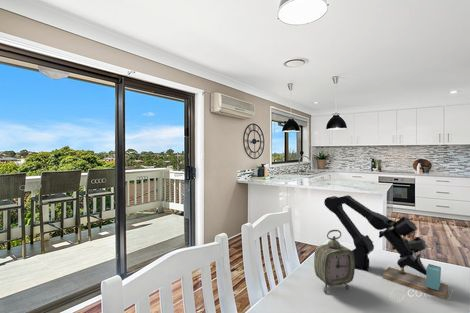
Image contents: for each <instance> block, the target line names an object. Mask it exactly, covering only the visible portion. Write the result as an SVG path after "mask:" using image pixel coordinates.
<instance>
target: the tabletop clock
mask: <svg viewBox="0 0 470 313" xmlns="http://www.w3.org/2000/svg"><path fill="white" fill-rule="evenodd" d="M333 232H338V233H339V236H337V237H336V236H335V235H333V236H332V238H331V237H329V234H330V233H333ZM341 237H342V232H341V230H339V229H332V230H329V231H328V232H327V234H326V238H327V239H328V242H327V243H326V244H321V245H317V246H316V247H315V249H314V257H313V262H314V265H313V267H314V273H315V276H316V277H317V278H318V279H319V280H321V281H322V282H323V283H324V285H325V286H324V287H325V288H323V293H325V294H327V293H328V289H327V288H328V286H329V287H335V286H337V287H338V286H342V285H345V289H346V290H350V285H349V283H351V282H352V281H353V279H354V277H355V269H356V268H355V257H354V253H353V251H352V250H351V249H349V248H348V247H345V246H344V245H342V244H340V242H339V241H338V239H340V238H341Z"/></svg>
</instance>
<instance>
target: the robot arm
mask: <svg viewBox="0 0 470 313" xmlns="http://www.w3.org/2000/svg"><path fill="white" fill-rule="evenodd" d="M323 205H324V206H325V208H326V209H328V210H329V211H330V212H331V213H333V214H334V215H335V216H336V217H337V218H338V220H339V221H340V223H341V224H342V226H343V228H345V230H346V231H347V233H348V235H349V236H351V238H352V240H353V244H354V247H355V248H354V249H352V250H351V251H353V253H354V257H355V269H357V270H362V271H366V272H367V271H369V268H370V257H369V254H370V253H372V252H373V251H374V249H375V245H374V241H373V240H371V237H370V236H369V235H367V234H366V235H364V234H363V233H361V231H360V230H359V229H358V227H357V226H356V224H354V222H353V220H352V219H351V218H350V217H349V215H348V214H347V213H346V211H345V210H344V207H343V205H346V206H348V207H349V208H351V210H353V211H354V212H356V213H358V214H359V215H361V216H362V217H363V218H365V219H366V220H367V221H368V223H369V224H370V225H371V226H372V228H374V229H375V230H377V231H379V234H378V239H381V238H382V237H384V238H385V239H386V241H388V242H389V244H390V245H391V246H392V250H393V251H396V252H397V253H398V255H399V259H398V260H397V263H396V264H397V265H398V267H399V268H400V269H401V268H403V267H404V268H405V267H409V268H411V269H413V270H415V271H417V272H419V273H421V274H422V275H424V276H426V272H427V268H426V267H425V266H424V264H423V262H422V261H421V256H422V254H421V253H419V254H417V253H418V252H422V251H424V250H426V248H427V245H426V241H425V240H424V239H423V238H422V237H420V236H415V237H414V239H413V240H411V241H410V240H408V239H407V238H404V237H407V236H408V235H410V234H413V233H414V232H415V231H417V230H418V227H417V226H416V224H415V223H414V221H412V220H410V219H409V218H407V217H406V216H402V217H400V218H399V220H397V221H395V220H392V219H389V217H388V216H385V215H383V214H382V213H379V212H376V211H373V210H371V209H370V208H368V207H367V206H365V205H363V204H362V203H361V202H359V201H358V200H356V199H354V198H353V197H352V196H351V195H349V194H348V195H344V196H336V195H334V196H328V197H326V198H325V199H324V203H323ZM392 227H393V228H392Z"/></svg>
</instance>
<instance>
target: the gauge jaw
mask: <svg viewBox="0 0 470 313" xmlns="http://www.w3.org/2000/svg"><path fill="white" fill-rule="evenodd" d="M426 271H427V272H426V275H425V276H426V277H425V278H426V287H429V288H432V289H435V290H439V288H440V283H441V274H442V273H441V272H442V267H441V266H438V265H434V264H431V263H428V264H427V267H426Z"/></svg>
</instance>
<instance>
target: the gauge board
mask: <svg viewBox="0 0 470 313" xmlns="http://www.w3.org/2000/svg"><path fill="white" fill-rule="evenodd" d="M382 279H383V280H386V281H390V282H392V283H395V284H398V285H401V286H404V287H406V288H409V289H413V290H415V291H418V292H422V293H424V294H426V295H430V296H432V297H436V298H439V299H441V298H442V299H443V300H444V299H445V300H446V299H447V295H448V292H449V284H445V283H442V282H440V288H439V290H435V289H432V288H429V287H426V277H422V276H420V275H417V274H414V273H410V272H407V271H405V267H403V268H400V269H397V268H394V267H391V266H388V267H387V269H386V270H385V271H384V272H383V273H382Z"/></svg>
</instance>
